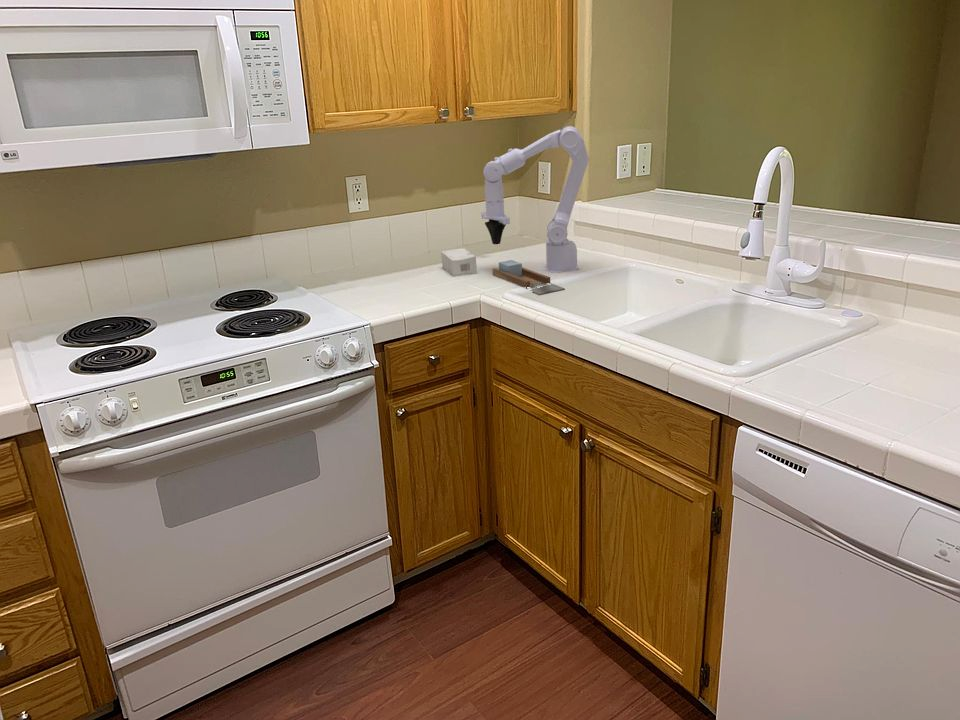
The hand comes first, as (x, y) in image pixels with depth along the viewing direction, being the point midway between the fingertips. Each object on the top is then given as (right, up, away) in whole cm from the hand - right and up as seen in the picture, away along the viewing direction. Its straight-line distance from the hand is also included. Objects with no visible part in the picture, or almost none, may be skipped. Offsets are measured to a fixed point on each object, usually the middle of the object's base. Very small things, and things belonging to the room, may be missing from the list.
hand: (496, 243), depth 233 cm
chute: (+9, -14, -11) cm, 20 cm away
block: (+4, -11, -3) cm, 12 cm away
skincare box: (-10, -8, -1) cm, 12 cm away
